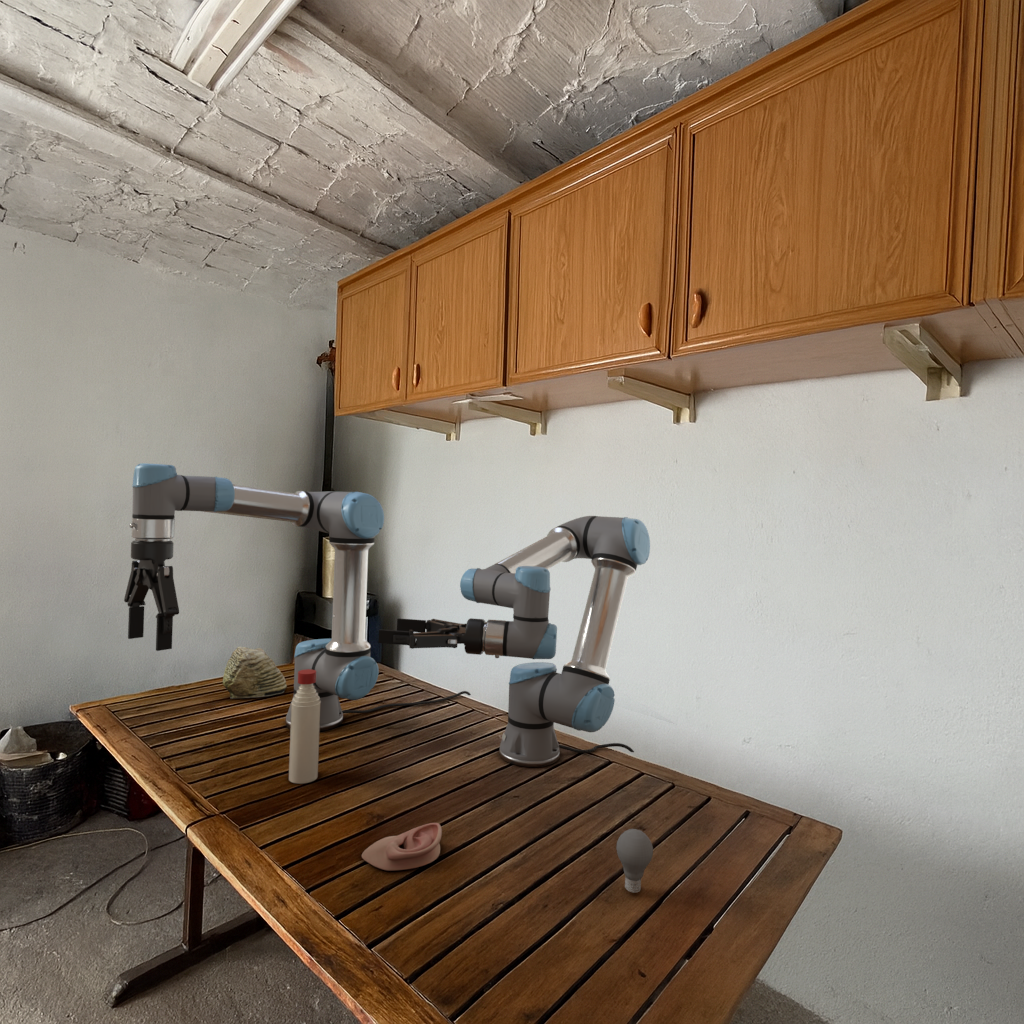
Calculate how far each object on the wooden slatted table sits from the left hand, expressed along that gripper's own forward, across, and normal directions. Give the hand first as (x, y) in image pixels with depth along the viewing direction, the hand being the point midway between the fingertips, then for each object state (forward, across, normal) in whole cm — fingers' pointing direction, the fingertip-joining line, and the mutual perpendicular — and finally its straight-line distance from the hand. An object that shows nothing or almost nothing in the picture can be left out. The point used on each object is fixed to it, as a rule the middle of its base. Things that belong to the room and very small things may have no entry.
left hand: (149, 643), depth 129 cm
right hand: (-3, +31, +36) cm, 48 cm away
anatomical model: (+32, +54, +22) cm, 66 cm away
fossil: (+32, -47, +50) cm, 76 cm away
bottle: (+32, +14, +28) cm, 45 cm away
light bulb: (+32, +90, +41) cm, 104 cm away
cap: (+8, +14, +28) cm, 32 cm away
